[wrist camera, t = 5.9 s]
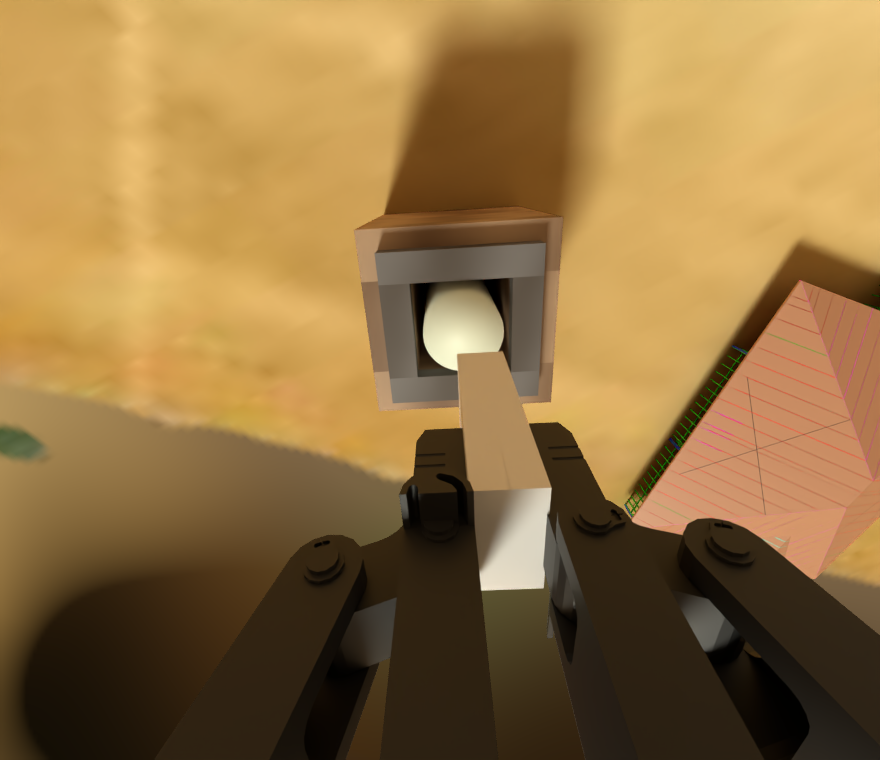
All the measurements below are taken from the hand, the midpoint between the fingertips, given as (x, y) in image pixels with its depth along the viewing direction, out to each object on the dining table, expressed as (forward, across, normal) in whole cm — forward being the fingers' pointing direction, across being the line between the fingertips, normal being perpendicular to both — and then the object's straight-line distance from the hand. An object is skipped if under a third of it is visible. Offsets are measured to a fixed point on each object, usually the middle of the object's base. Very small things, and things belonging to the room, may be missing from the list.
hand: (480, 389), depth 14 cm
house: (+21, +31, -17) cm, 41 cm away
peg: (+19, 0, -1) cm, 19 cm away
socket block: (+21, 0, -1) cm, 21 cm away
